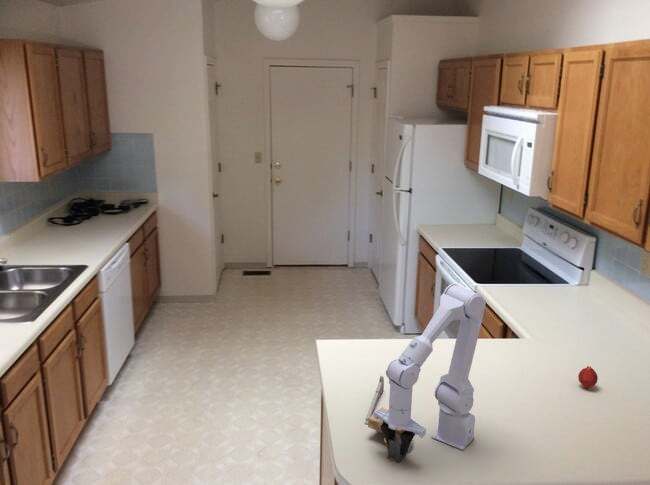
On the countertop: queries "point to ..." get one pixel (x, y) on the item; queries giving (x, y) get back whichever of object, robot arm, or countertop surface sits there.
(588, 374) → the onion
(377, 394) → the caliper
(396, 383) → the robot arm
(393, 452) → the dark grey block
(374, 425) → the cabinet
